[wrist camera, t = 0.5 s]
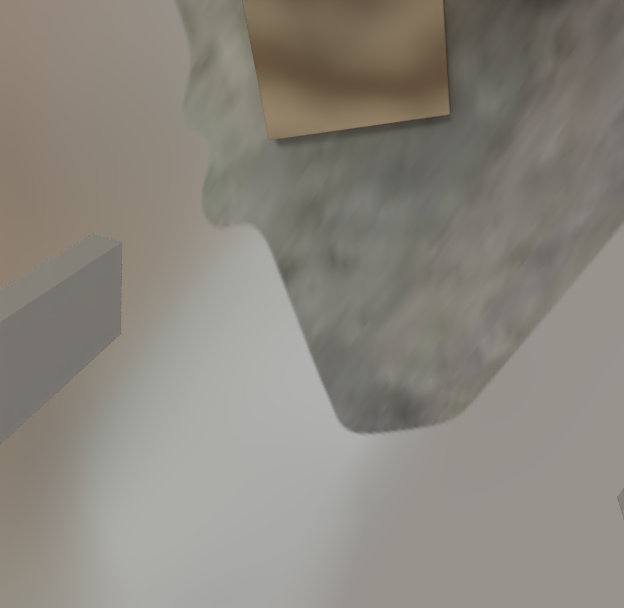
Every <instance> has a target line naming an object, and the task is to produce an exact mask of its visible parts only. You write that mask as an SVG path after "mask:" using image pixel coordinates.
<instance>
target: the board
mask: <svg viewBox="0 0 624 608" xmlns="http://www.w3.org/2000/svg"><path fill="white" fill-rule="evenodd" d="M242 1H243V7H244V12H245V17H246V22H247V27H248V32H249V37H250V42H251V48H252V53H253V58H254V63H255V68H256V73H257V78H258V84H259V89H260V94H261V99H262V104H263V109H264V114H265V120H266V125H267V130H268V135H269V140H274V139H281V138H288V137H295V136H302V135H309V134H316V133H323V132H330V131H337V130H344V129H351V128H358V127H365V126H372V125H379V124H386V123H393V122H400V121H407V120H414V119H421V118H428V117H435V116H442V115H449V114H450V101H449V84H448V67H447V50H446V33H445V16H444V0H242Z"/></svg>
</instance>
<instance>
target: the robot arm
mask: <svg viewBox="0 0 624 608" xmlns="http://www.w3.org/2000/svg"><path fill="white" fill-rule="evenodd" d="M121 275H122V242H120V241H117V240H114V239H110V238H107V237H104V236H100V235H97V234H94V233H93V234H92V235H90V236H88V237H87V238H85V239H83V240H81V241H80V242H78V243H76V244H75V245H73V246H71V247H69V248H68V249H66V250H64V251H63V252H61V253H59V254H58V255H56V256H54V257H53V258H51V259H49V260H47V261H46V262H44V263H42V264H40V265H39V266H37V267H35V268H34V269H32V270H30V271H29V272H27V273H25V274H23V275H22V276H20V277H18V278H16V279H15V280H13V281H11V282H10V283H8V284H6V285H5V286H3V287H1V288H0V444H1V443H3V442H4V441H5V440H6V439H7V438H8V437H9V436H10V435H11V434H12V433H14V432H15V431H16V430H17V429H18V428H19V427H20V426H21V425H22V424H23V423H24V422H25V421H27V420H28V419H29V418H30V417H31V416H32V415H33V414H34V413H35V412H36V411H37V410H39V409H40V408H41V407H42V406H43V405H44V404H45V403H46V402H47V401H48V400H49V399H51V398H52V397H53V396H54V395H55V394H56V393H57V392H58V391H59V390H60V389H61V388H62V387H64V386H65V385H66V384H67V383H68V382H69V381H70V380H71V379H72V378H73V377H75V376H76V375H77V374H78V373H79V372H80V371H81V370H82V369H83V368H84V367H85V366H87V365H88V364H89V363H90V362H91V361H92V360H93V359H94V358H95V357H96V356H97V355H99V354H100V352H102V351H103V350H104V349H105V348H106V347H107V346H108V345H109V344H111V343H112V342H113V341H114V340H115V339H116V338H117V337H118V336H119V335H120V334H121V285H122V284H121V283H122V281H121V280H122V276H121ZM617 498H618V501H619V505H620V508H621V511H622V514H623V517H624V489H623V490H622V492H621V493H620V494H619V496H618V497H617Z"/></svg>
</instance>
